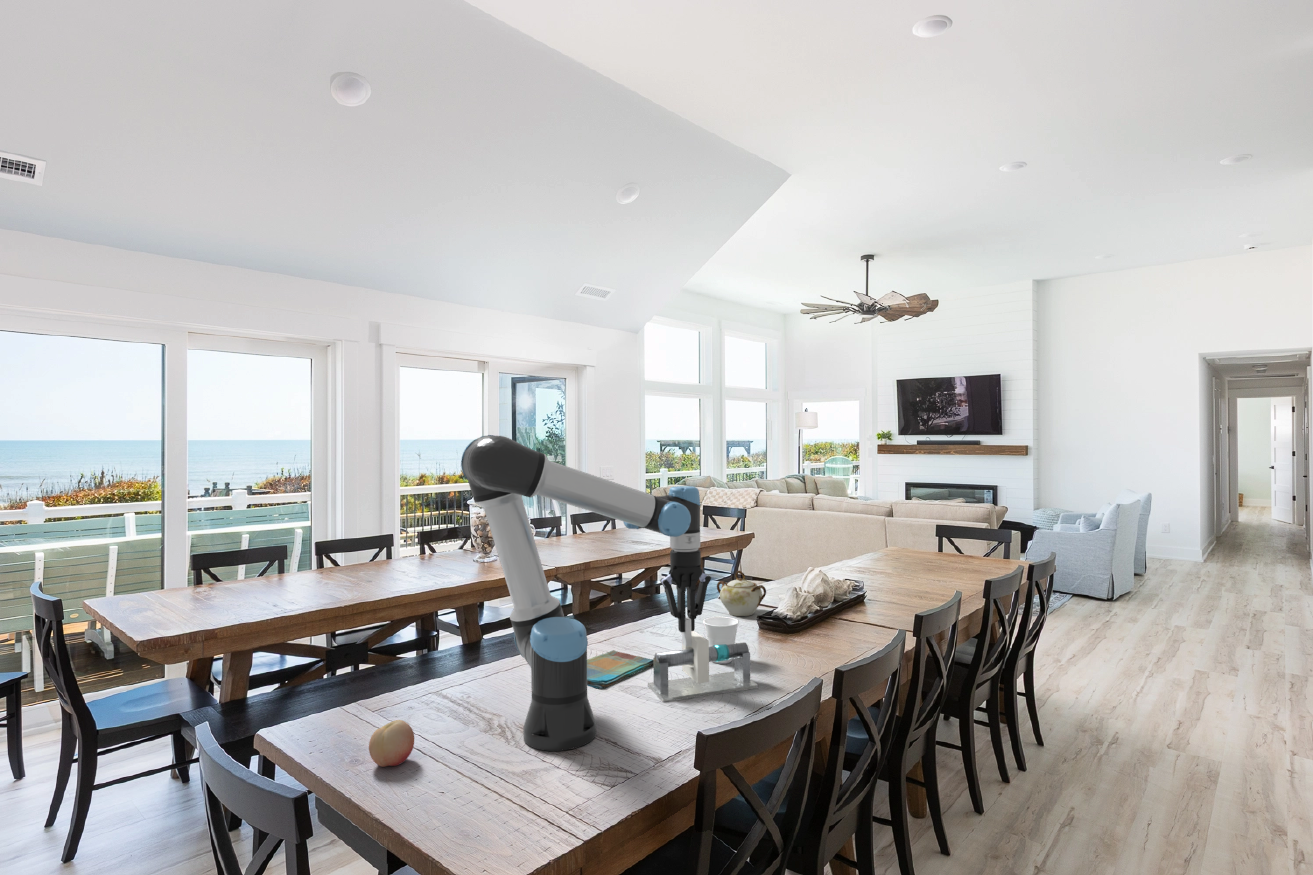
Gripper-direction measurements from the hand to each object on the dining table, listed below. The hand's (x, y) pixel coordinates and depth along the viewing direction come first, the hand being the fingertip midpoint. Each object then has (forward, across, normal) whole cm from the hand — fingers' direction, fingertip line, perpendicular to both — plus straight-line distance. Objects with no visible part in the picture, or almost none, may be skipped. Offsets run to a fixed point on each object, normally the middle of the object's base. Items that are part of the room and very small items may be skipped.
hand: (686, 644), depth 173 cm
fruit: (+11, -68, -16) cm, 71 cm away
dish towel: (+12, -15, +21) cm, 28 cm away
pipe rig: (+11, +4, 0) cm, 12 cm away
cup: (+11, +17, +17) cm, 27 cm away
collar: (+8, +2, 0) cm, 8 cm away
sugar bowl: (+12, +45, +61) cm, 77 cm away
